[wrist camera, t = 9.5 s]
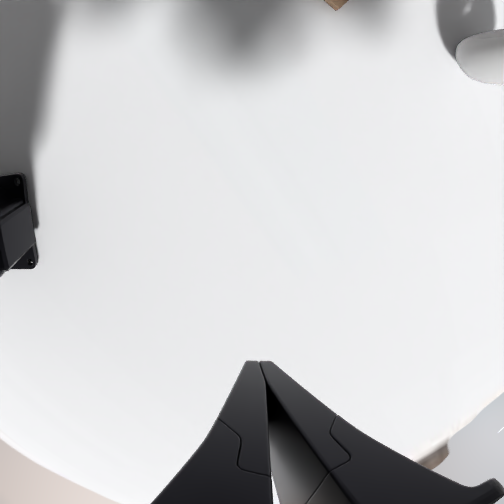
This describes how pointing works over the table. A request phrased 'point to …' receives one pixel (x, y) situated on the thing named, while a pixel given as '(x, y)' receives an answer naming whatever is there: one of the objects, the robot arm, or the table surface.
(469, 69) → the donut
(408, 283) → the table surface
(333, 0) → the walnut trivet
